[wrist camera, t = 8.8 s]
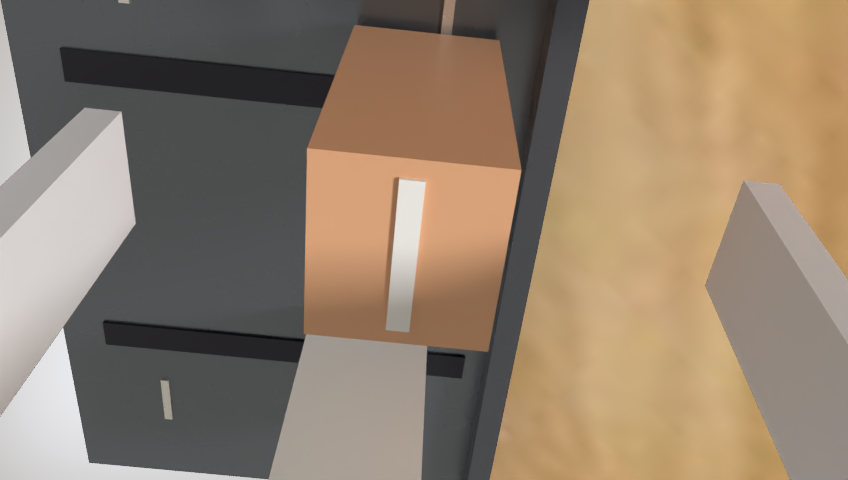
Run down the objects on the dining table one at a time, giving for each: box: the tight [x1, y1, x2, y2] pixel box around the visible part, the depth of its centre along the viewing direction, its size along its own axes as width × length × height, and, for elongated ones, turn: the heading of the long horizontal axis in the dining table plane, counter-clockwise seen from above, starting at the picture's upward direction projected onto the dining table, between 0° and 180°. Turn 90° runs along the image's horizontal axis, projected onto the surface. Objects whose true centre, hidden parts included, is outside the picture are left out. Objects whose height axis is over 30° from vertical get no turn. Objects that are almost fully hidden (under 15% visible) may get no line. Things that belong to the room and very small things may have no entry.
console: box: [1, 0, 589, 480], centre depth 25 cm, size 24×16×2 cm, turn 174°
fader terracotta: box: [304, 25, 521, 352], centre depth 19 cm, size 4×4×8 cm
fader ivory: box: [269, 334, 427, 480], centre depth 24 cm, size 4×4×8 cm
